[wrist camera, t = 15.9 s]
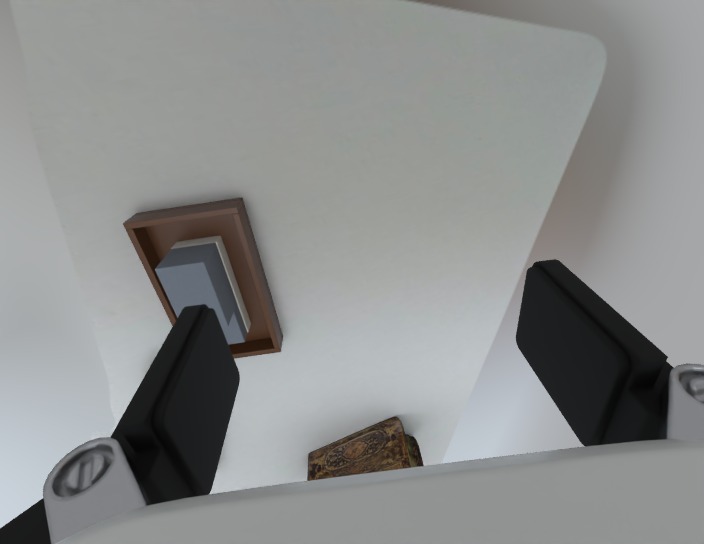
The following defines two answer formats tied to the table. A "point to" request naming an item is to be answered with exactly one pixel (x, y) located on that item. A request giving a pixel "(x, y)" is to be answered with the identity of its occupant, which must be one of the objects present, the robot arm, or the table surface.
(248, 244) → the tray
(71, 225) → the table surface
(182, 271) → the grey stepped block
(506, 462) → the robot arm
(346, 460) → the book
